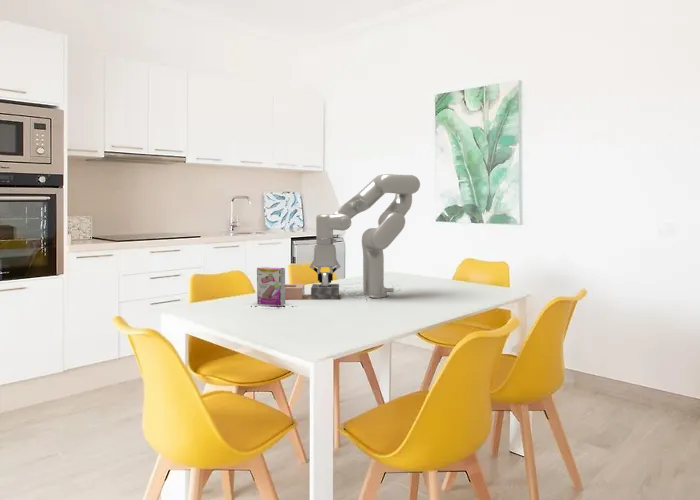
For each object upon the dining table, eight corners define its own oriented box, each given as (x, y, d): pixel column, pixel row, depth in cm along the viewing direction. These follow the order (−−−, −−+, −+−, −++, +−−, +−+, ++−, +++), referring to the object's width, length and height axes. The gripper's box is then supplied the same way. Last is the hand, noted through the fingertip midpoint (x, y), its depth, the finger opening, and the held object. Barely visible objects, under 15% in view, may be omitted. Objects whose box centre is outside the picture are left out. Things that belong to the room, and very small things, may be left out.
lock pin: (330, 296, 252) (329, 272, 251) (329, 297, 248) (329, 273, 247) (321, 296, 252) (321, 272, 251) (320, 297, 248) (320, 273, 247)
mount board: (341, 296, 257) (341, 283, 256) (340, 301, 243) (340, 288, 242) (276, 296, 257) (276, 283, 256) (272, 302, 243) (272, 288, 243)
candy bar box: (256, 306, 233) (256, 267, 232) (262, 304, 238) (261, 266, 237) (280, 307, 230) (280, 268, 228) (286, 305, 234) (285, 267, 233)
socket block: (304, 294, 256) (304, 284, 255) (302, 299, 244) (301, 288, 243) (278, 294, 256) (278, 284, 255) (274, 299, 244) (274, 288, 244)
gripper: (343, 241, 251) (343, 281, 253) (306, 241, 251) (307, 281, 253) (343, 242, 244) (343, 283, 245) (305, 242, 244) (306, 283, 245)
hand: (325, 281), depth 249 cm, fingers closed on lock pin, 4 cm apart
